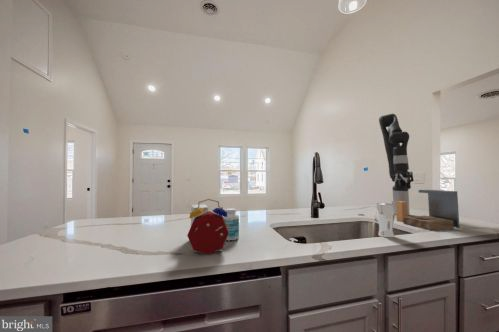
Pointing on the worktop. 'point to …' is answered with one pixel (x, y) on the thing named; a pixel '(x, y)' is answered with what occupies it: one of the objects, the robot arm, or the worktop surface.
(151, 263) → the worktop surface
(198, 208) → the skincare box
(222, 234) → the alarm clock
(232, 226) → the pill bottle
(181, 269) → the worktop surface
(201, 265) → the worktop surface
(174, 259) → the worktop surface
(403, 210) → the peg
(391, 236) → the beer glass
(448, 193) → the thin grey panel
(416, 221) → the socket block
